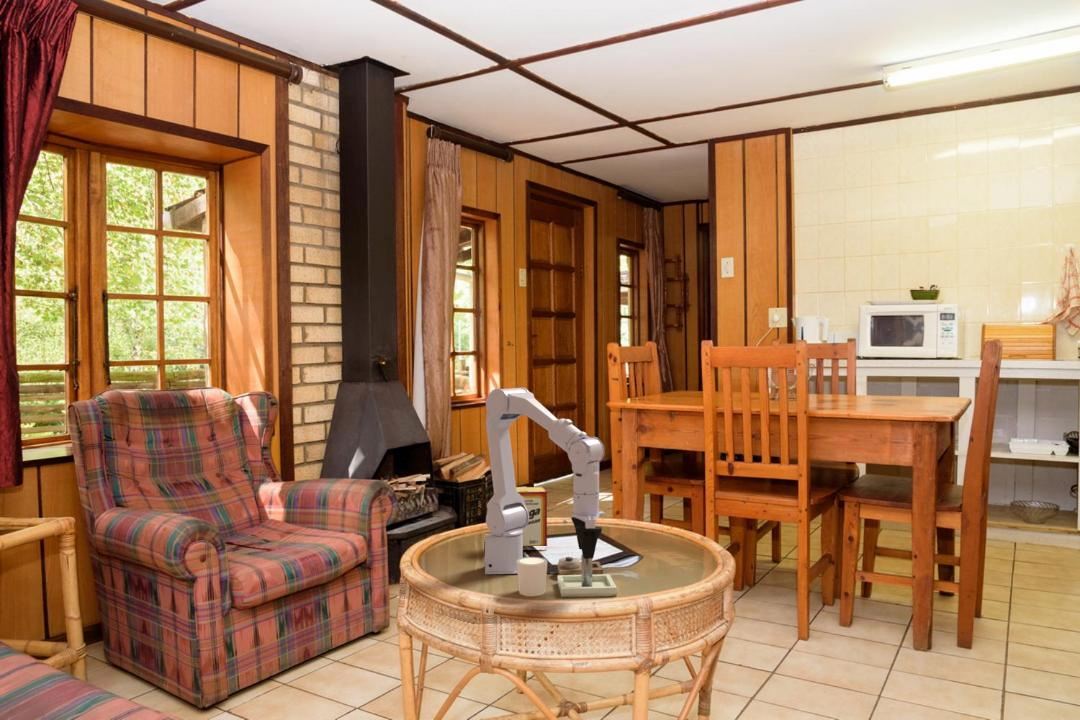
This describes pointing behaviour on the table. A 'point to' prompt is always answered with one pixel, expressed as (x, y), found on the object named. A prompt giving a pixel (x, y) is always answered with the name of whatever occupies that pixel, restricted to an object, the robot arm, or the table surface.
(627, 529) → the table surface
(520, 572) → the cream cylinder
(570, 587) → the tray
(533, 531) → the baking soda box
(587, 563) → the pin
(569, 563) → the block
